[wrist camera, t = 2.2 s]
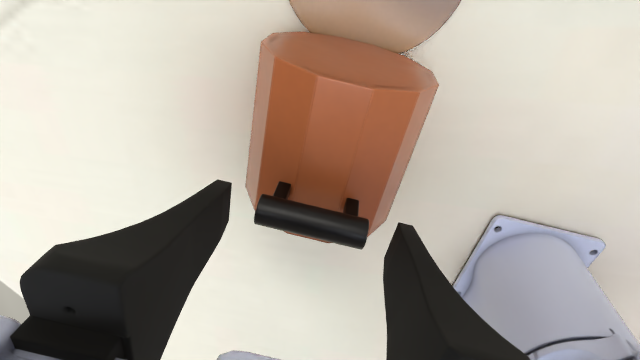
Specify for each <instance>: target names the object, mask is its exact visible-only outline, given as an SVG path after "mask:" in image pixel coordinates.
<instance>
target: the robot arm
mask: <svg viewBox="0 0 640 360" xmlns="http://www.w3.org/2000/svg"><path fill="white" fill-rule="evenodd" d="M231 185H232V183H230V182H226V181H221V180H216V181H214V182H213V183H211V184H210V185H208V186H207V187H205V188H204V189H202V190H201V191H199V192H197V193H196V194H194V195H193V196H191V197H189V198H188V199H186V200H185V201H183V202H181V203H180V204H178V205H176V206H174V207H172V208H170V209H169V210H167V211H165V212H163V213H161V214H159V215H157V216H155V217H152V218H150V219H148V220H145V221H143V222H141V223H138V224H135V225H132V226H129V227H127V228H124V229H121V230H118V231H115V232H111V233H108V234H104V235H101V236H97V237H93V238H89V239H84V240H79V241H74V242H69V243H64V244H58V245H55V246H54V247H52V248H51V249H50V250H49V251H48V252H46V253H45V254H44V255H43V256H42V257H41V258H40V259H39V260H38V261H37V262H36V263H34V264H33V265H32V266H31V267H30V268H29V269H28V270H27V271H26V272H25V273H24V274H23V275H22V276H21V279H20V287H21V292H22V294H23V297H24V300H25V302H26V305H27V308H28V310H29V313H30V316H29V317H28V318H27V319H26V320H25V321H24V323H23V324H22V325H21V324H20V323H19V322H18V321H17V320H15V319H12V318H10V317H5V316H1V315H0V360H160V359H161V357H162V354H163V352H164V349H165V347H166V345H167V342H168V340H169V338H170V335H171V333H172V330H173V328H174V326H175V324H176V321H177V319H178V317H179V315H180V312H181V310H182V308H183V306H184V304H185V302H186V299H187V297H188V295H189V293H190V291H191V289H192V287H193V285H194V283H195V281H196V280H197V278H198V276H199V275H200V273H201V271H202V270H203V268H204V266H205V265H206V263H207V262H208V260H209V258H210V257H211V255H212V253H213V252H214V250H215V248H216V246H217V245H218V243H219V241H220V239H221V237H222V235H223V233H224V230H225V228H226V226H227V223H228V221H229V210H230V198H231ZM497 226H500V227H499V228H497V229H494V228H495V227H497ZM604 248H605V243H604V242H603V241H602V240H601V239H598V238H594V237H590V236H586V235H582V234H578V233H573V232H569V231H565V230H561V229H557V228H553V227H549V226H544V225H540V224H536V223H532V222H528V221H524V220H520V219H515V218H511V217H507V216H503V215H499V216H496V217H494V218H493V219H492V221H491V223H490V224H489V226H488V228H487V229H486V231H485V233H484V235H483V236H482V238H481V240H480V241H479V243H478V245H477V246H476V248H475V250H474V251H473V253H472V255H471V256H470V258H469V260H468V261H467V263H466V265H465V266H464V268H463V270H462V271H461V273H460V275H459V277H458V278H457V280H456V282H455V283H454V285H453V287H452V285H451V284H450V283H449V281H448V280H447V279H446V277H445V276H444V275H443V273H442V272H441V271H440V269H439V268H438V266H437V265H436V263H435V262H434V260H433V259H432V257H431V256H430V254H429V252H428V251H427V249H426V247H425V246H424V244H423V242H422V241H421V239H420V237H419V235H418V234H417V232H416V230H415V229H414V227H413V226H411V225H407V224H403V223H398V225H397V228H396V230H395V233H394V235H393V237H392V240H391V242H390V245H389V247H388V250H387V252H386V255H385V257H384V272H383V283H384V297H385V309H386V322H387V360H640V344H639V342H638V341H637V340H636V338H635V337H634V335H633V334H632V332H631V331H630V329H629V328H628V327H627V325H626V324H625V322H624V321H623V319H622V318H621V316H620V315H619V314H618V312H617V311H616V309H615V308H614V306H613V305H612V303H611V302H610V301H609V299H608V298H607V296H606V295H605V293H604V292H603V290H602V289H601V287H600V286H599V285H598V283H597V282H596V280H595V279H594V277H593V276H592V274H591V273H590V272H589V270H588V269H587V268H588V267H589V266H590V265H591V263H592V262H593V261H594V260H595V259H596V258H597V256H598V255H599V254H600V253H601V252H602V251H603V249H604ZM591 250H593V251H591ZM457 291H459V292H457ZM217 360H280V359H276V358H271V357H267V356H263V355H259V354H255V353H250V352H245V351H230V352H227V353H224V354H221V355H219V357H218V358H217Z"/></svg>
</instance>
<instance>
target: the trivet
mask: <svg viewBox="0 0 640 360" xmlns="http://www.w3.org/2000/svg"><path fill="white" fill-rule="evenodd" d="M460 1H461V0H289V2H290V4H291V6H292V8H293V9H294V11H295V13H296V15H297V16H298V18H299V19H300V21H301V22H302V24H303V25H304V26H305V27H306V28H307V29H308V30H309V32H310V33H316V34H324V35H332V36H338V37H342V38H346V39H350V40H355V41H359V42H363V43H367V44H371V45H375V46H377V47H380V48H383V49H386V50H388V51H391V52H394V53H397V54H399V53H402V52H405V51H407V50H409V49H411V48H413V47H415V46H417V45H419V44H420V43H422V42H423V41H425V40H426V39H428V38H429V37H430V36H432V35H433V34H434V33H435V32H436V31H437V30H438V29H440V28H441V26H442V25H443V24H444V23H445V22H446V21H447V20H448V19H449V18H450V16H451V15H452V13H453V12H454V11H455V9H456V8H457V7H458V5H459V3H460Z"/></svg>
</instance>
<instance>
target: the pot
mask: <svg viewBox="0 0 640 360" xmlns="http://www.w3.org/2000/svg"><path fill="white" fill-rule="evenodd" d="M438 86H439V84H438V82H437V80H436V78H435V76H434V74H433V72H432V71H430V70H429V69H427V68H425V67H423V66H422V65H420V64H418V63H416V62H415V61H413V60H411V59H409V58H407V57H405V56H402V55H400V54H397V53H394V52H391V51H388V50H386V49H383V48H380V47H377V46H375V45H371V44H367V43H363V42H359V41H355V40H350V39H346V38H342V37H338V36H332V35H324V34H316V33H308V32H283V33H272V34H271V35H270V36H268V37H267V38H265V39H264V40H263V41H261V47H260V56H259V65H258V74H257V84H256V93H255V102H254V111H253V121H252V130H251V139H250V148H249V157H248V167H247V176H246V186H245V187H246V189H247V192H248V194H249V197H250V199H251V202H252V205H253V207H254V210H255V216H254V223H255V224H257V225H262V226H266V227H270V228H274V229H278V230H282V231H284V232H286V233H288V234H292V235H296V236H301V237H305V238H309V239H313V240H317V241H321V242H325V243H336V244H340V245H344V246H349V247H353V248H357V249H363V247H364V246H365V243H366V240H367V237H368V236H369V235H370V234H371V233H373V232H374V231H375V230H376V229H377V228H378V227H379V226H380V225H381V224H383V223H384V222H385V221H386V219H387V217H388V214H389V211H390V209H391V206H392V204H393V201H394V199H395V196H396V193H397V191H398V188H399V186H400V183H401V181H402V178H403V176H404V173H405V170H406V168H407V165H408V163H409V160H410V158H411V155H412V152H413V150H414V147H415V145H416V142H417V140H418V137H419V134H420V132H421V129H422V127H423V124H424V122H425V119H426V116H427V114H428V111H429V109H430V106H431V104H432V101H433V99H434V96H435V93H436V91H437V88H438Z"/></svg>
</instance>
